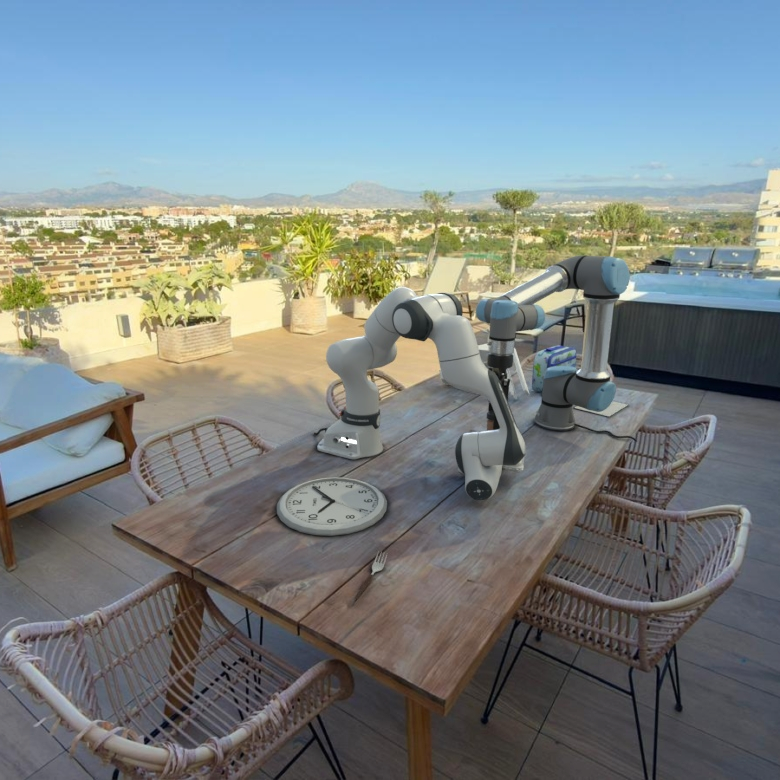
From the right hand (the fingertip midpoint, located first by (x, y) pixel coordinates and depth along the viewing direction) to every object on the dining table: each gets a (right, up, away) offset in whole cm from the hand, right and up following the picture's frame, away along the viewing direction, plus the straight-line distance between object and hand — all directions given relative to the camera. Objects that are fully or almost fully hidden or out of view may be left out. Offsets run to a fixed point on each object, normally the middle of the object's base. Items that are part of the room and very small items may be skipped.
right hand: (494, 425), depth 162 cm
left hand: (0, -7, +3) cm, 8 cm away
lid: (0, +4, -1) cm, 4 cm away
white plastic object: (+9, +10, +81) cm, 82 cm away
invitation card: (+59, +4, +64) cm, 87 cm away
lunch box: (+44, +11, +86) cm, 97 cm away
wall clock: (-48, -20, -19) cm, 56 cm away
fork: (-37, -30, -50) cm, 69 cm away
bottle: (0, -14, +4) cm, 14 cm away
